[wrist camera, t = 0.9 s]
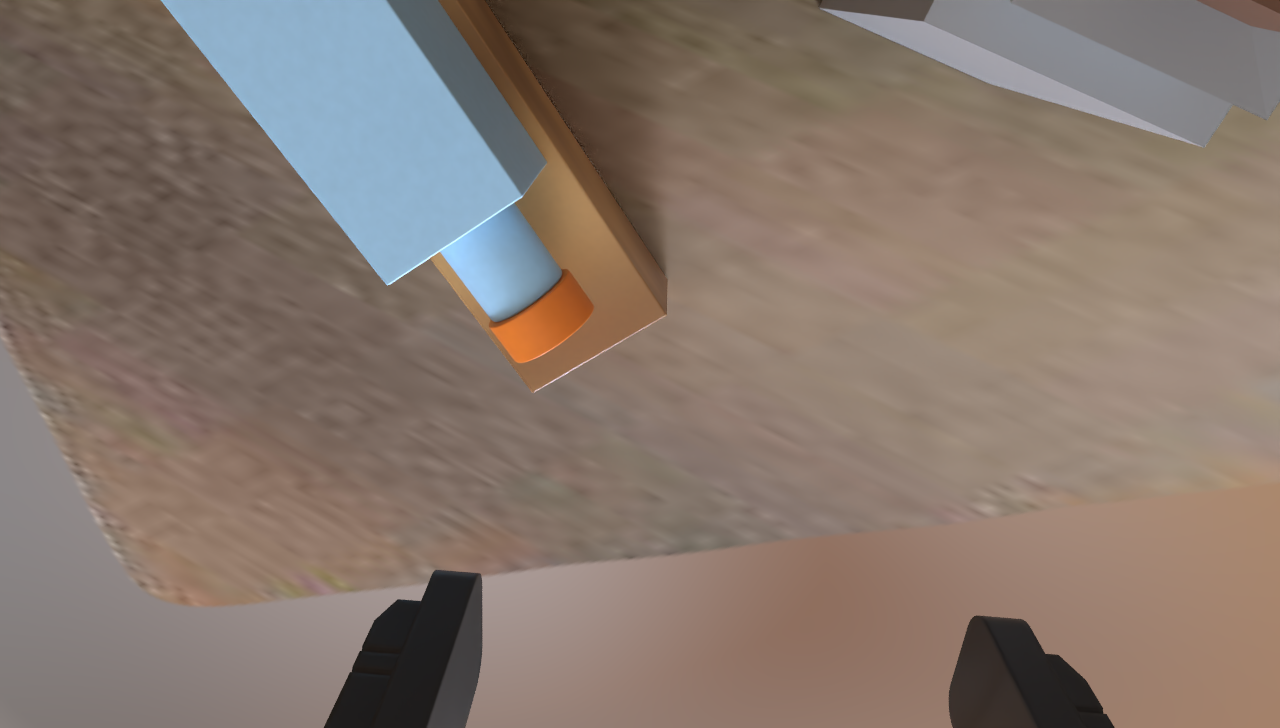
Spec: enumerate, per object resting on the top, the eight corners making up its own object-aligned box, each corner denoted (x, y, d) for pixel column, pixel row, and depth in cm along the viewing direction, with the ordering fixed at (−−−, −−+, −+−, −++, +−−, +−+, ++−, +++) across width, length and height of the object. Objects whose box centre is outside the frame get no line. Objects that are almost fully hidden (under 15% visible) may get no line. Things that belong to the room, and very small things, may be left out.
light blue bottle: (160, -120, 25) (46, -143, 20) (283, -229, 24) (191, -282, 19) (507, 341, 31) (478, 402, 26) (621, 271, 29) (612, 323, 25)
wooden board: (168, -161, 28) (92, -183, 24) (300, -282, 26) (241, -325, 23) (547, 352, 35) (532, 394, 32) (668, 280, 34) (667, 315, 30)
